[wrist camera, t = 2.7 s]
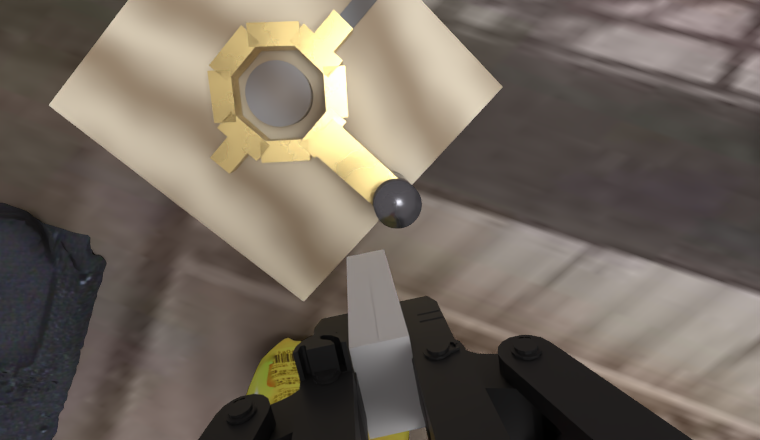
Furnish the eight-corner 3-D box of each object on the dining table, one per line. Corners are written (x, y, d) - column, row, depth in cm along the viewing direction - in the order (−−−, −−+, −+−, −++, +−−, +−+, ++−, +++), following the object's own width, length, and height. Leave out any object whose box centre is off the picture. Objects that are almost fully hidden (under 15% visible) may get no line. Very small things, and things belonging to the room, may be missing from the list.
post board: (305, 291, 35) (300, 319, 31) (67, 105, 30) (15, 104, 26) (493, 88, 33) (519, 84, 28) (264, -153, 28) (248, -209, 23)
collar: (349, 263, 33) (350, 289, 28) (175, 120, 29) (142, 122, 24) (462, 141, 31) (483, 147, 26) (293, -25, 28) (282, -54, 23)
